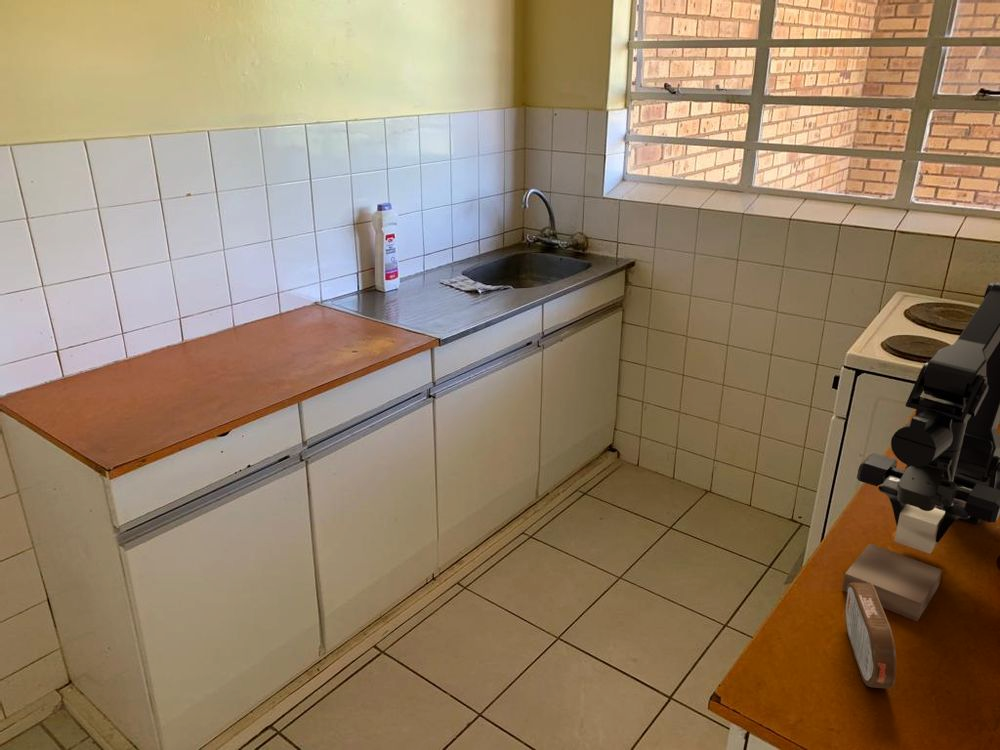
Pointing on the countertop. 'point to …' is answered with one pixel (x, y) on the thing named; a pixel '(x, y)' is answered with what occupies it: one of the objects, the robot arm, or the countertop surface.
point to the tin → (870, 636)
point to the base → (895, 580)
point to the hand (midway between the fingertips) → (918, 534)
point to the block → (919, 528)
